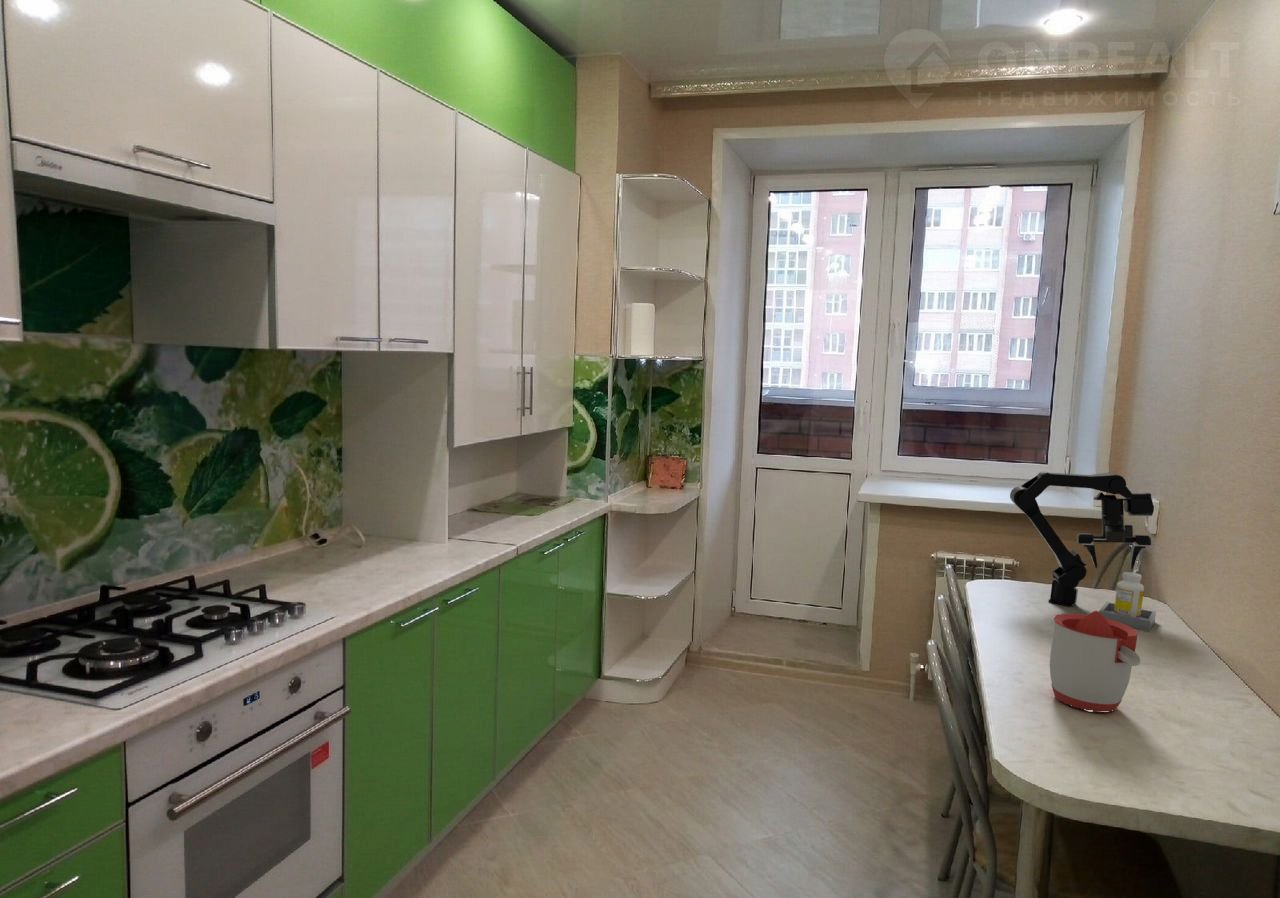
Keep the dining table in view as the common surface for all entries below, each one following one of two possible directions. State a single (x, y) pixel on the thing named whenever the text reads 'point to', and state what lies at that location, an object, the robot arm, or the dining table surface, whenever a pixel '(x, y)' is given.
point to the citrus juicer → (1091, 660)
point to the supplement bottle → (1129, 595)
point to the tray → (1129, 617)
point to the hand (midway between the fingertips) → (1113, 568)
